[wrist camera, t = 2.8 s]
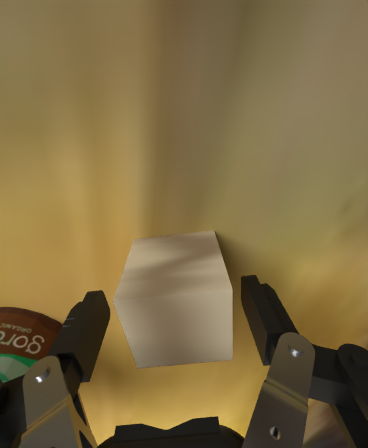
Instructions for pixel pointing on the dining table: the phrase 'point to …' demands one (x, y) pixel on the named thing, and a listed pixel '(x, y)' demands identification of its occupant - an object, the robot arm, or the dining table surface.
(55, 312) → the dining table surface
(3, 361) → the food container
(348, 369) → the robot arm
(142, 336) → the beige cube
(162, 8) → the dining table surface
